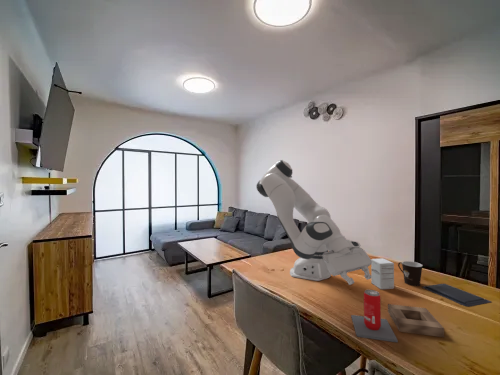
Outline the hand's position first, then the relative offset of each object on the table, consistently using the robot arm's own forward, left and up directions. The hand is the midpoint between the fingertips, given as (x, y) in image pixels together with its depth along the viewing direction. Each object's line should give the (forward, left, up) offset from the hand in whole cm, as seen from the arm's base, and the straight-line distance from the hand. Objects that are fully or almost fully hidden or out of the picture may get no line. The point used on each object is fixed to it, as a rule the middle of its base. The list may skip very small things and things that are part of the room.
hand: (361, 281), depth 88 cm
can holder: (+18, +2, -14) cm, 23 cm away
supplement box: (+16, +34, -15) cm, 40 cm away
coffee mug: (+31, +42, -15) cm, 54 cm away
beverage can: (+3, -5, -14) cm, 15 cm away
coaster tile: (+3, -5, -14) cm, 16 cm away
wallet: (+44, +32, -15) cm, 57 cm away
